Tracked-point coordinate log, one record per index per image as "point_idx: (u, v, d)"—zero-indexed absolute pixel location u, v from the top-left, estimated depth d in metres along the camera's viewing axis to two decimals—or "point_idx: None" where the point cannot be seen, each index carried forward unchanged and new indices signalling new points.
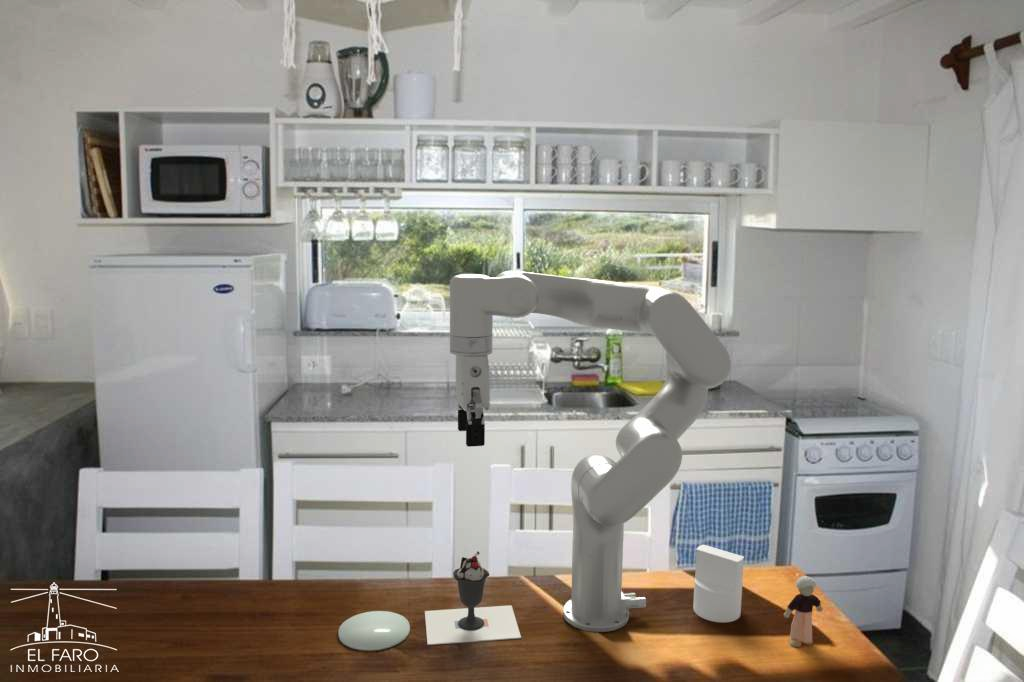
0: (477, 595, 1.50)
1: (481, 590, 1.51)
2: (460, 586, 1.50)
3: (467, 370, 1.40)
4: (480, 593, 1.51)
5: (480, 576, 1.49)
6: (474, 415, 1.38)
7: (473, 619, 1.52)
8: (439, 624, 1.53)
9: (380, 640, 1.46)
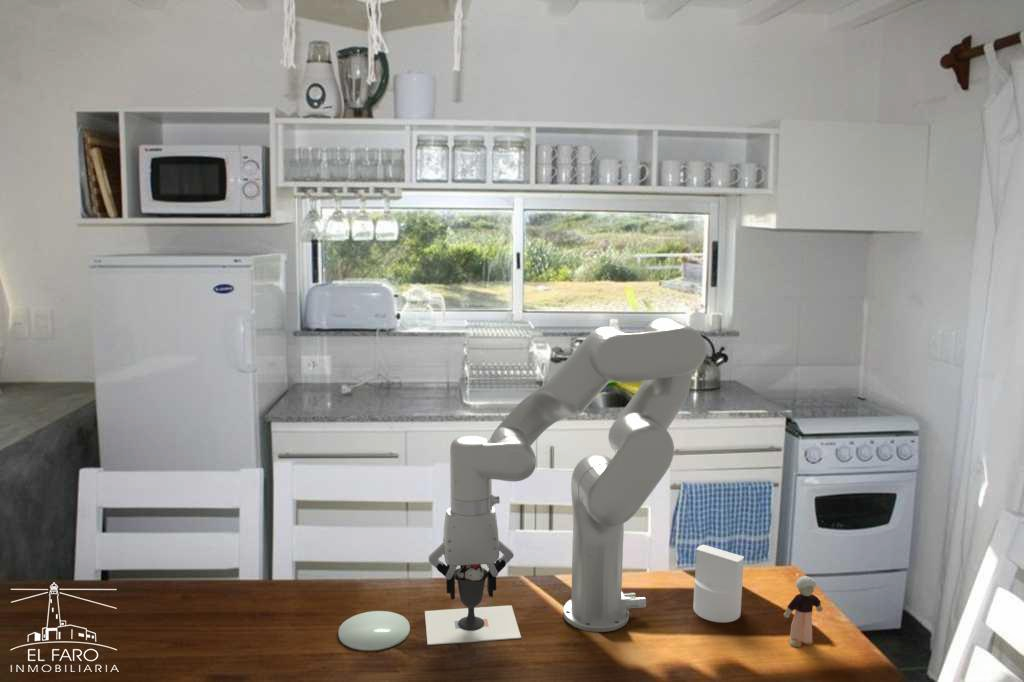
0: (477, 595, 1.50)
1: (481, 590, 1.51)
2: (460, 586, 1.50)
3: (496, 524, 1.49)
4: (480, 593, 1.51)
5: (480, 576, 1.49)
6: (505, 563, 1.51)
7: (473, 619, 1.52)
8: (439, 624, 1.53)
9: (380, 640, 1.46)
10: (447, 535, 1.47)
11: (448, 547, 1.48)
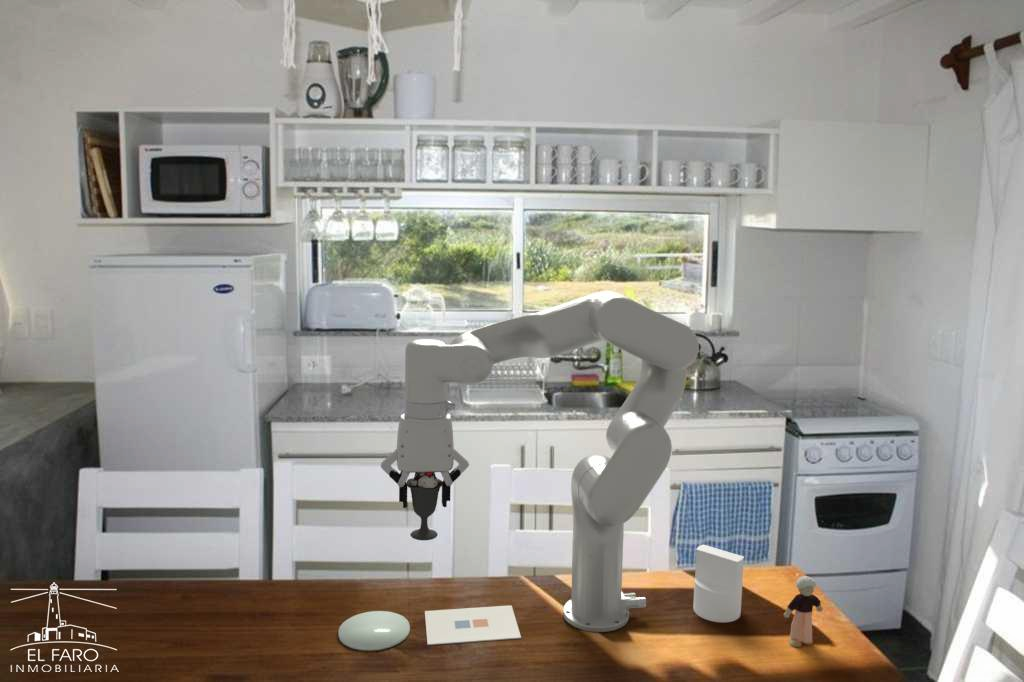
0: (430, 504, 1.46)
1: (435, 499, 1.46)
2: (413, 494, 1.46)
3: (451, 431, 1.45)
4: (433, 502, 1.46)
5: (434, 484, 1.45)
6: (460, 472, 1.47)
7: (426, 530, 1.48)
8: (439, 624, 1.53)
9: (380, 640, 1.46)
10: (400, 440, 1.43)
11: (401, 452, 1.43)
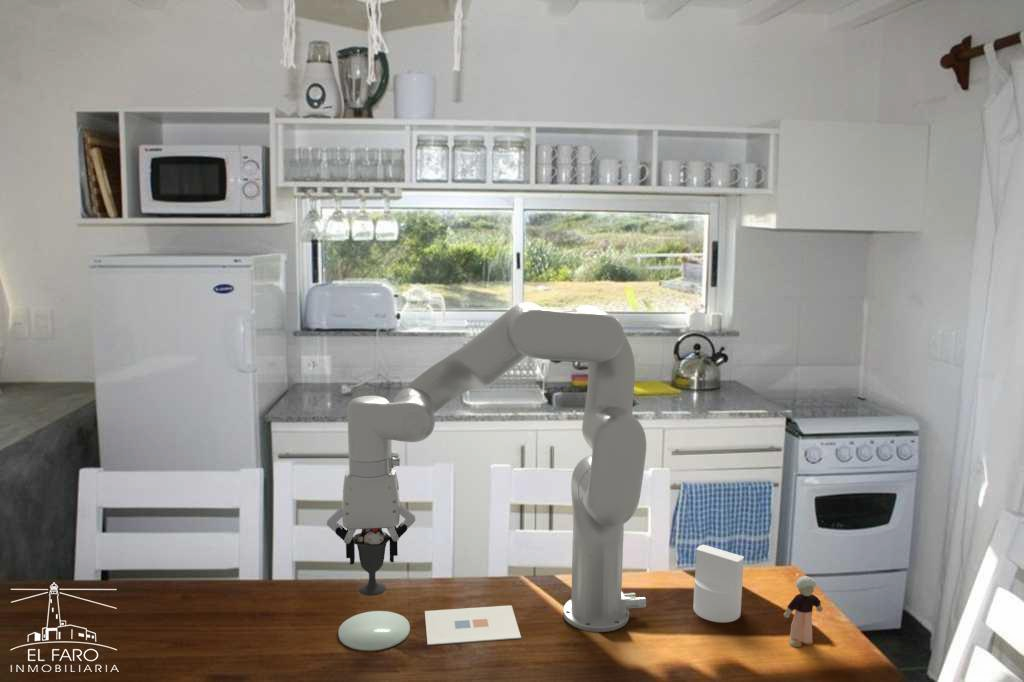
0: (377, 560, 1.46)
1: (381, 555, 1.47)
2: (359, 550, 1.46)
3: (396, 487, 1.45)
4: (380, 558, 1.47)
5: (379, 540, 1.45)
6: (407, 527, 1.47)
7: (374, 585, 1.48)
8: (439, 624, 1.53)
9: (380, 640, 1.46)
10: (344, 497, 1.43)
11: (345, 510, 1.44)
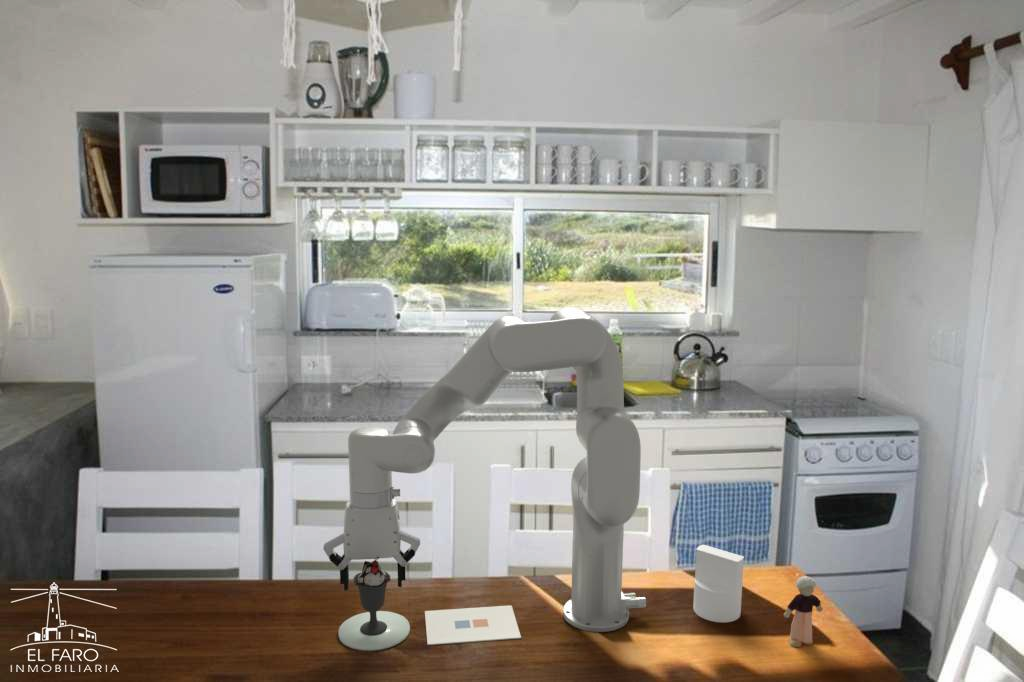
0: (377, 600, 1.47)
1: (382, 595, 1.48)
2: (360, 590, 1.47)
3: (397, 517, 1.46)
4: (381, 598, 1.48)
5: (379, 581, 1.46)
6: (414, 552, 1.48)
7: (375, 624, 1.49)
8: (439, 624, 1.53)
9: (380, 640, 1.46)
10: (345, 528, 1.44)
11: (347, 541, 1.45)
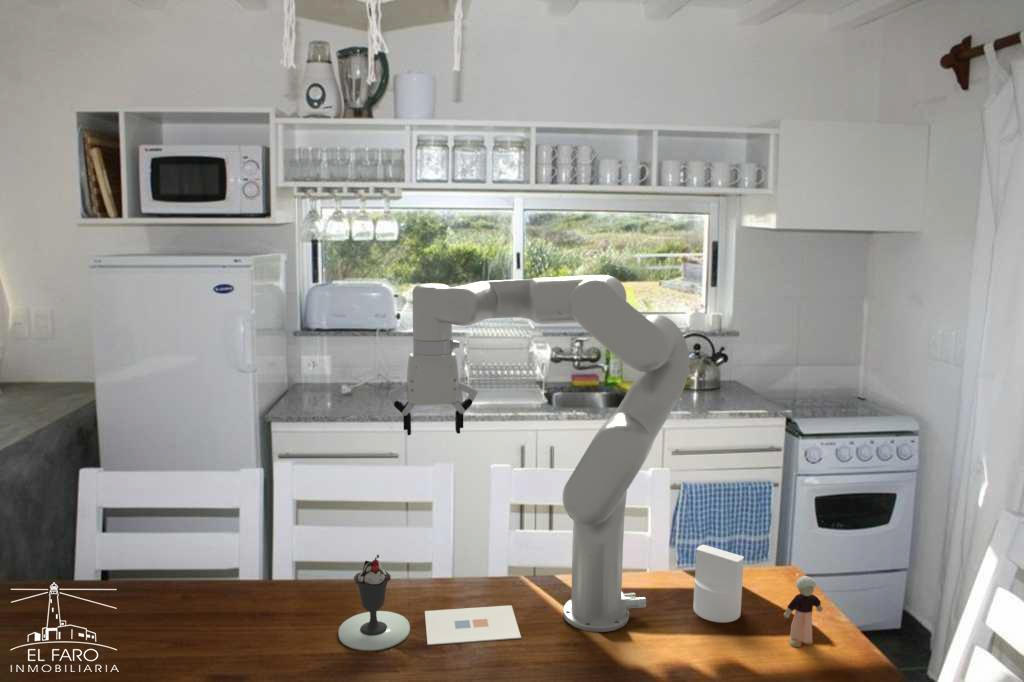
0: (377, 599, 1.47)
1: (382, 594, 1.48)
2: (360, 589, 1.48)
3: (456, 367, 1.58)
4: (381, 597, 1.48)
5: (380, 580, 1.47)
6: (472, 401, 1.61)
7: (375, 624, 1.49)
8: (439, 624, 1.53)
9: (380, 640, 1.46)
10: (410, 375, 1.57)
11: (411, 387, 1.57)
